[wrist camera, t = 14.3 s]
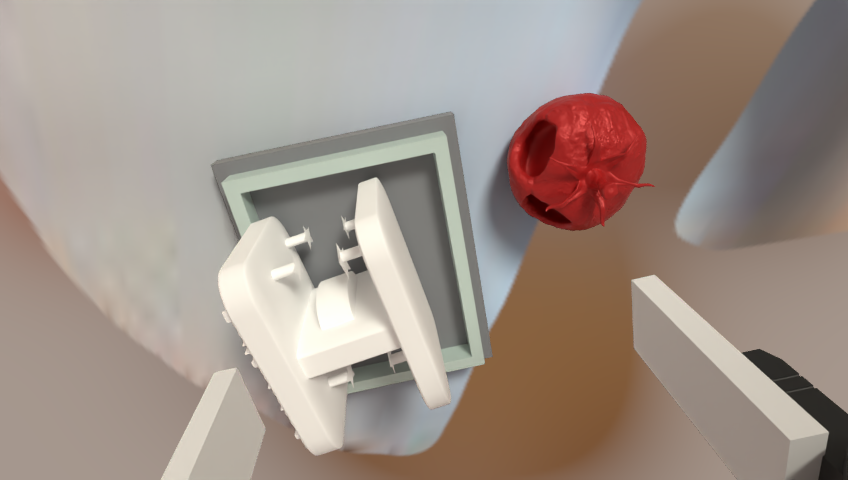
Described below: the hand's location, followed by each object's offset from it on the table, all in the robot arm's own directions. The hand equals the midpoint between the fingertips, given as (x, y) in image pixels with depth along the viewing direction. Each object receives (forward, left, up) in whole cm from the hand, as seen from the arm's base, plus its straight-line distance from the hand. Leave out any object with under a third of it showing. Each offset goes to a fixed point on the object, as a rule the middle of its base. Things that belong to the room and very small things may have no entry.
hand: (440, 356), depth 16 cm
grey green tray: (+4, +7, -24) cm, 25 cm away
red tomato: (-13, +1, -24) cm, 27 cm away
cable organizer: (+6, +7, -23) cm, 24 cm away
